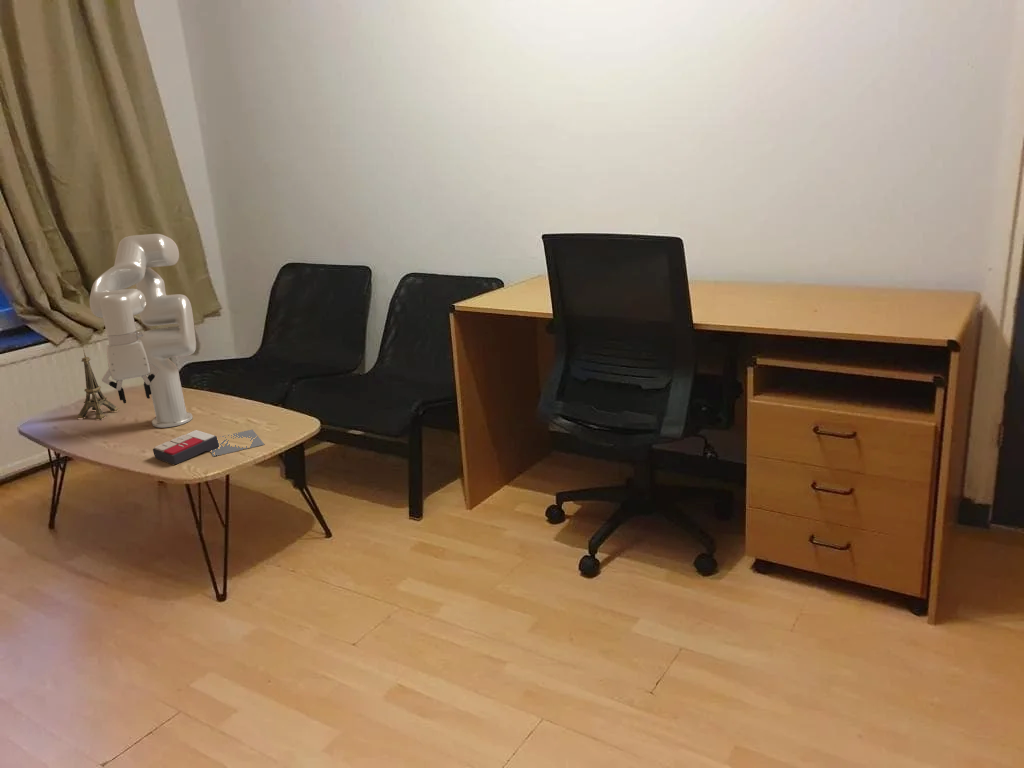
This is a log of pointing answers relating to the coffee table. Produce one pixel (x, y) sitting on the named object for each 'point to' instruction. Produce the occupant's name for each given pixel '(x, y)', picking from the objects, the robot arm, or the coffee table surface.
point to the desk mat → (231, 449)
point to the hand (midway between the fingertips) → (136, 399)
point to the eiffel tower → (93, 393)
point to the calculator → (185, 447)
